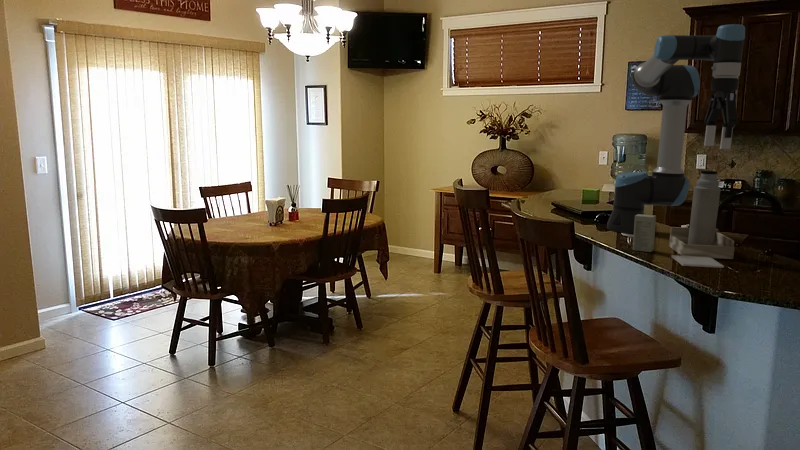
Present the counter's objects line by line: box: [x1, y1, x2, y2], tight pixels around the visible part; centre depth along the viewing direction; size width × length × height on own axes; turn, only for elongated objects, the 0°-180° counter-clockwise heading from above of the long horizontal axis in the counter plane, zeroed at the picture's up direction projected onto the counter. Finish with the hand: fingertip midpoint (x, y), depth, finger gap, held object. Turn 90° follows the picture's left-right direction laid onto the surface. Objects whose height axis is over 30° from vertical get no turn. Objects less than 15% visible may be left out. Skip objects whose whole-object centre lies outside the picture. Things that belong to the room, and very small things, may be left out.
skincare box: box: [632, 214, 657, 253], centre depth 206 cm, size 6×4×12 cm
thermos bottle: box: [688, 169, 722, 246], centre depth 203 cm, size 8×8×28 cm
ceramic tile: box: [670, 254, 725, 269], centre depth 192 cm, size 12×12×1 cm
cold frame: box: [668, 226, 736, 260], centre depth 205 cm, size 16×16×7 cm
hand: (716, 147), depth 188 cm, fingers open, 13 cm apart
